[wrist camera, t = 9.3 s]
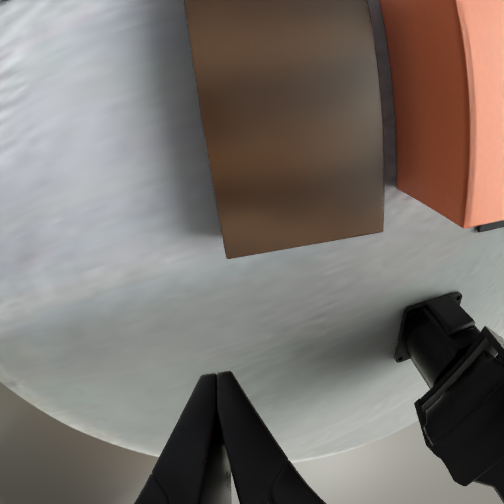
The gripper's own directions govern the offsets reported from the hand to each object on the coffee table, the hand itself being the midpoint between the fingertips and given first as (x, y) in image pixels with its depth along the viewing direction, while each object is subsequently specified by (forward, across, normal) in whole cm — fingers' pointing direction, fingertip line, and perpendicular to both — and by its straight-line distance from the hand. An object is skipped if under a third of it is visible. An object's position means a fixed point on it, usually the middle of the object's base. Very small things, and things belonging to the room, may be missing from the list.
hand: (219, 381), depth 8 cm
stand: (+12, -5, -7) cm, 15 cm away
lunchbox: (+8, -12, -7) cm, 16 cm away
